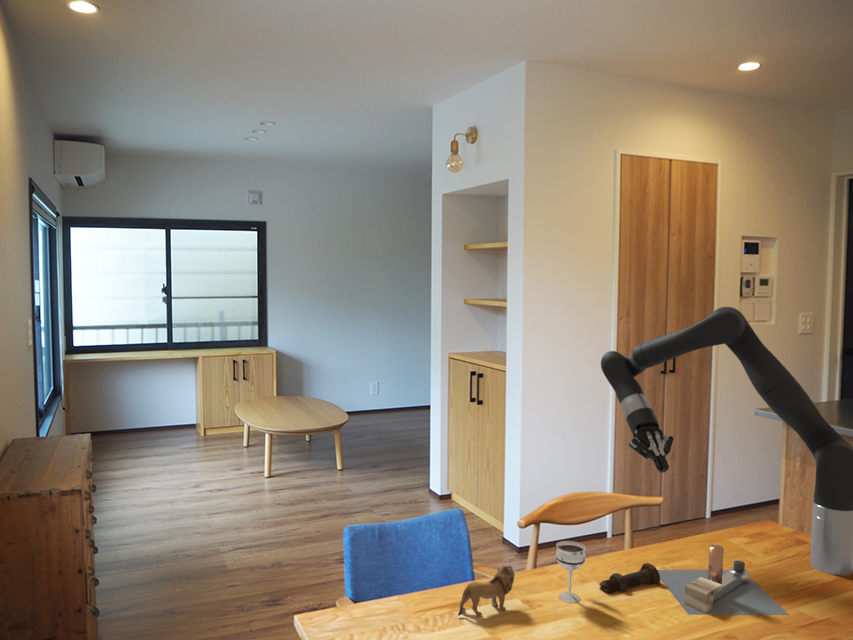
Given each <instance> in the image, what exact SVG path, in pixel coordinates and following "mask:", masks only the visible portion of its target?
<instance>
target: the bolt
mask: <svg viewBox="0 0 853 640" xmlns="http://www.w3.org/2000/svg"><path fill="white" fill-rule="evenodd" d="M658 570H659V569H657V568H656V566H655V565H654V564H652V563H649V562H645V563H643V564H642V565H641V568H640V569H639V570H638V571H635V572H630V573H627V574H624V575H622V574H620V573H617V572H616V573H612V574H611V575H610V577H609V578H608V579H605V580H602V581H601V582H600V583H599V585H598V586H599V590H600V591H602V592H603V593H604V594H607V595H608V594H612V593H613V594H614V593H617V592H620V593H624V592H627V591H628V590H630V589H632V588H637V587H640V586H644V585H650V584H652V585H653V586H654V585H659V584H660V583H661V579H660V575H659V572H658Z"/></svg>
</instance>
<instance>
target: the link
mask: <svg viewBox="0 0 853 640" xmlns="http://www.w3.org/2000/svg"><path fill="white" fill-rule="evenodd" d="M723 565H724V547H723V546H721V545H718V544H710V545H709V546H708V567H707V570H708V580H711V581H713V582H716V583H719V584H722V590H721V591H719V592H718V593H716V594H714V595H713V601H715V600H716V599H718V598H719V597H721V596H723V595H724V594H726V593H727V592H729V591H731V590H732V589H734V588H735V587H737V586H739V585H740V584H745V583H748V582H749V578H750V572H749V571H748V570H747V569H745V571H744V572H737V571H735V570H734V566H733V567H729V568H728V570H729V572H727V573H725V574H724V575H722V572H723V570H724V569H723V568H724V566H723Z"/></svg>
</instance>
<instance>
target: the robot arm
mask: <svg viewBox="0 0 853 640" xmlns="http://www.w3.org/2000/svg"><path fill="white" fill-rule="evenodd" d="M719 345H725V346H726V347H727V348H728V349H729V350H730V351H731V352H732V353H733V354H734V356H736V358H737V359H738V361H739V362H740V363H741V366H742V367H743V369H744V371H745V372H746V375H747V377H748V379H749V380H750V383H751V384H752V387H753V388H754V389H755V391H756V393H757V394H758V395H759V396H760V397H761V399H762V400H763V401H764V402H765V403H766V404H767V406H768V407H769V408H770V409H771V410H772V411H773V413H774V414H776V415H777V417H779V418H780V419H781V420H782V421H783V422H784V423H785V424H786V425H788V427H790V428H791V429H793V430H794V431H795V433H796V434H798V436H799V437H800V439H801V440H802V441H803V442H804V444H805V446H806V447H807V448H808V450H809V451H810V452H811V455H812V456H813V458H814V460H815V462H816V463H815V481H814V484H815V485H814V491H813V503H812V505H813V506H812V525H811V540H810V541H811V545H810V547H811V548H810V559H809V560H810V561H809V562H810V563H809V565H810V566H811V567H812V568H813V569H814V570H815V569H816V570H817V571H819V572H822V573H826V574H828V575H834V576H849V575H852V574H853V446H852V445H851V444H850V443H849V442H848V441H847V440H846V439H844V437H843V436H841V434H839V433H838V432H837V430H835V429H834V428H833V427H832V426H831V424H829V423H828V422H827V420H826V419H825V418H824V416H823V415H822V414H821V412H819V410H818V408H817V406H816V405H815V403H814V402H813V400H812V399H811V397H810V396H809V395H808V393H807V391H805V389H804V388H803V387H802V385H801V384H800V383H799V382H798V381H797V379H796V378H795V377H794V376H793V374H792V373H791V372H790V371H789V370H788V369H787V368H786V367H785V366H784V364H783V363H782V362H781V361H780V360H779V359H778V358H777V356H775V355H774V354H773V353H772V351H770V350H769V349H768V348H767V347H766V345H765V344H764V343H763V342H762V340H761V339H760V338H759V337H758V335H757V334H756V333H755V331H754V329H753V328H752V327H751V324H750V323H749V322H748V321H747V319H746V317H745V315H744V314H743V313H742V312H741V311H740V310H738V309H737V308H734V307H732V306H722V307H719V308H717V309H715V310H714V311H712V312H711V313H710V314H709V315H707V317H705V318H704V319H702V320H700V321H698V322H696V323H694V324H693V325H691V326H689V327H687V328H684V329H681V330H678V331H676V332H673V333H672V332H671V333H667V334H665V335H661V336H659V337H655V338H653V339H650V340H648V341H645V342H643V343H640V344H638V345H635V346H634V347H633V349H632V354H630V355H629V356H625V355H623V354H622V353H621V352H618V351H615V350H612V351H611V350H609V351H607V352H605V353H604V354H603V356H602V357H601V360H600V368H601V370H602V373H603V375H604V376H605V378H606V380H607V382H608V384H609V385H610V386H611V388H612V389H613V391H614V392H615V395H616V397H617V400H618V402H619V404H620V406H621V411H622V413H623V416H624V418H625V420H626V423H627V425H628V428H629V430H630V432H631V434H632V437H633V438H632V439H631V440H630V441H629V443H628V446H629V447H630V448H631V449H632V450H634V451H636V453H638V454H639V455H640V456H642V457H643V458H644V459H646V460H647V459H649V460H652V461H653V464H654V466H655V468H656V469H657V471H658V472H659V473H666V472H668V471H669V468H670V465H669V462H668V460H667V459H666V457H667V456H668V455H669V454H670V453H671V450H672V446H673V442H674V437H673V436H671V435H669V436H667V435H665V434H664V431H663V430H662V429H661V428H660V425H659V424H660V423H659V421H658V419H657V417H656V414H655V412H654V409H653V408H652V406H651V404H650V402H649V400H648V399H647V396H646V395H645V393H644V390H643V389H642V387H641V385H640V383H639V382H638V381H637V379H636V377H637V376H638V375H640V374H641V373H643V372H644V371H645V370H647V369H649V368H652V367H655V366H658V365H660V364H663V363H666V362H668V361H671V360H673V359H675V358H678V357H681V356H683V355H686V354H687V353H692V352H695V351H697V350H701V349H705V348H708V347H716V346H719Z"/></svg>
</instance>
